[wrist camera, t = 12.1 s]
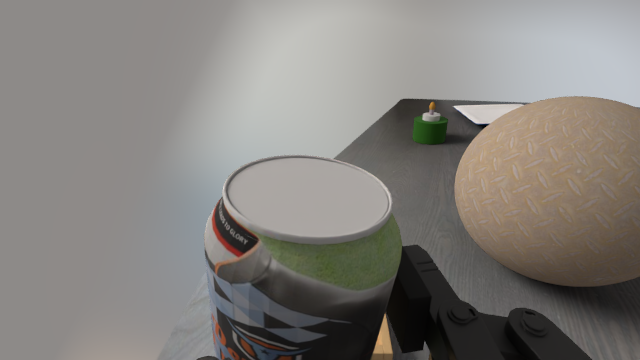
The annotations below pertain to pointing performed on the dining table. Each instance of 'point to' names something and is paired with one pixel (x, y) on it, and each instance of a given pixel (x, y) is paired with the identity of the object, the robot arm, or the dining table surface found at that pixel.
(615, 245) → the decorative sphere
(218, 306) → the beverage can
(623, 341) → the dining table surface
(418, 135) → the candle
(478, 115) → the plate
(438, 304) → the robot arm
